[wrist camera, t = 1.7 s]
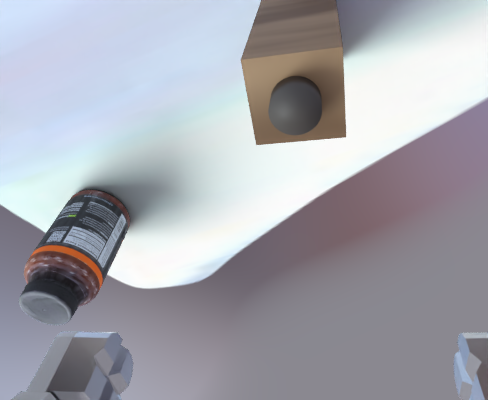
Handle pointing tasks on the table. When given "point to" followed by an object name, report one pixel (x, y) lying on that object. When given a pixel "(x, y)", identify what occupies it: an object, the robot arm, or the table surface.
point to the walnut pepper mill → (295, 72)
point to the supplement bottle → (74, 257)
